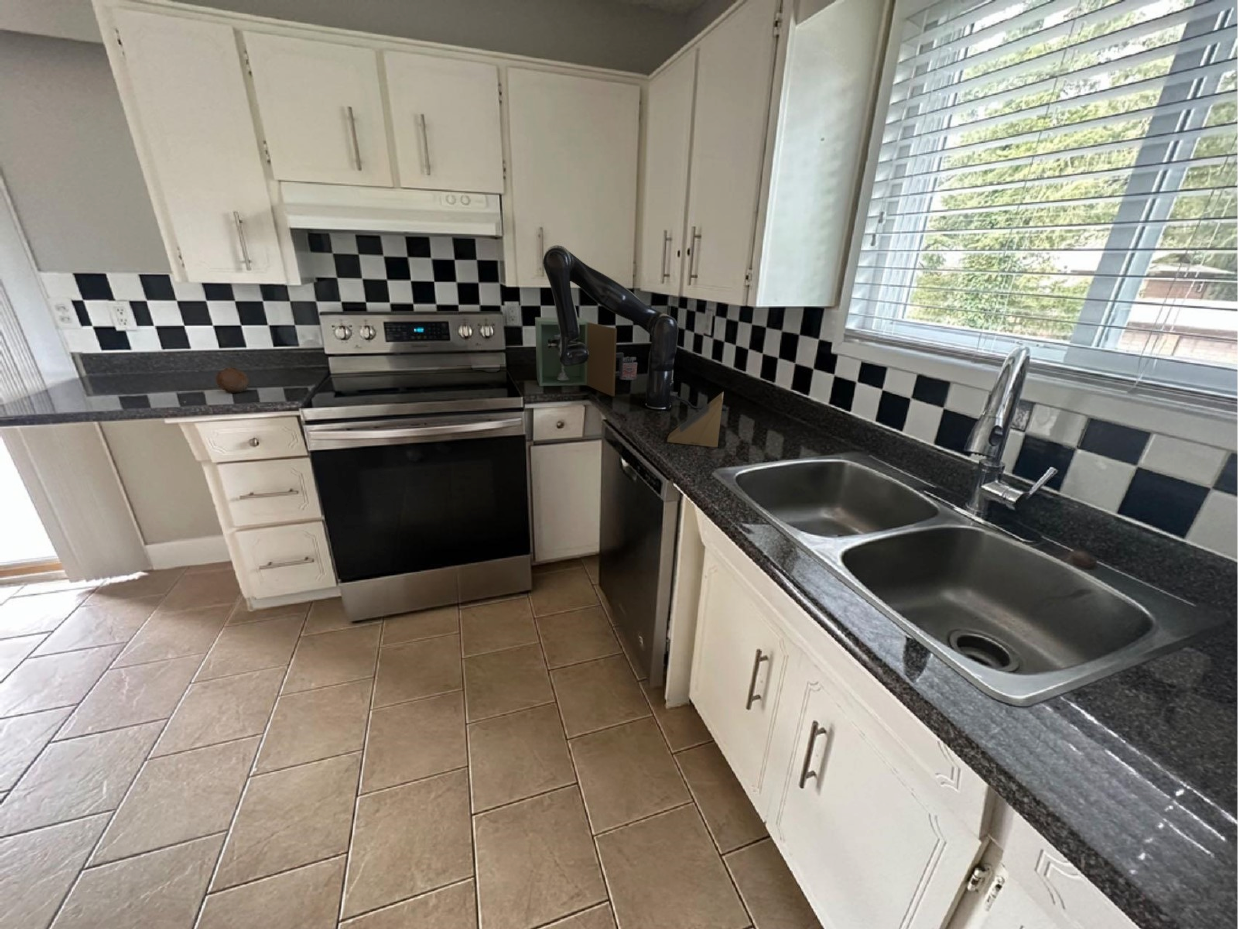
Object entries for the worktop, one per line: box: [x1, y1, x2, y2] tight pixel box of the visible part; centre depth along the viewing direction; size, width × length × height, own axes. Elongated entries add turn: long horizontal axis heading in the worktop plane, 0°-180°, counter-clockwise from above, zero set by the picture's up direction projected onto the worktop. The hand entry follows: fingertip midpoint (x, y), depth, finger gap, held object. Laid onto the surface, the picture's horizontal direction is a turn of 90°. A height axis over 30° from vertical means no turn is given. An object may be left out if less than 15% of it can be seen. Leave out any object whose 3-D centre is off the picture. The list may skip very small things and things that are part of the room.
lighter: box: [618, 356, 638, 381], centre depth 226 cm, size 8×3×10 cm, turn 104°
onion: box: [215, 366, 249, 394], centre depth 184 cm, size 10×9×10 cm
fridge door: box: [586, 321, 624, 397], centre depth 202 cm, size 6×20×26 cm, turn 33°
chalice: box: [554, 334, 569, 380], centre depth 209 cm, size 7×7×18 cm
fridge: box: [534, 316, 589, 387], centre depth 213 cm, size 14×20×26 cm
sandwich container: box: [666, 391, 724, 448], centre depth 151 cm, size 9×15×15 cm, turn 78°
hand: (561, 340), depth 209 cm, fingers closed on chalice, 6 cm apart
